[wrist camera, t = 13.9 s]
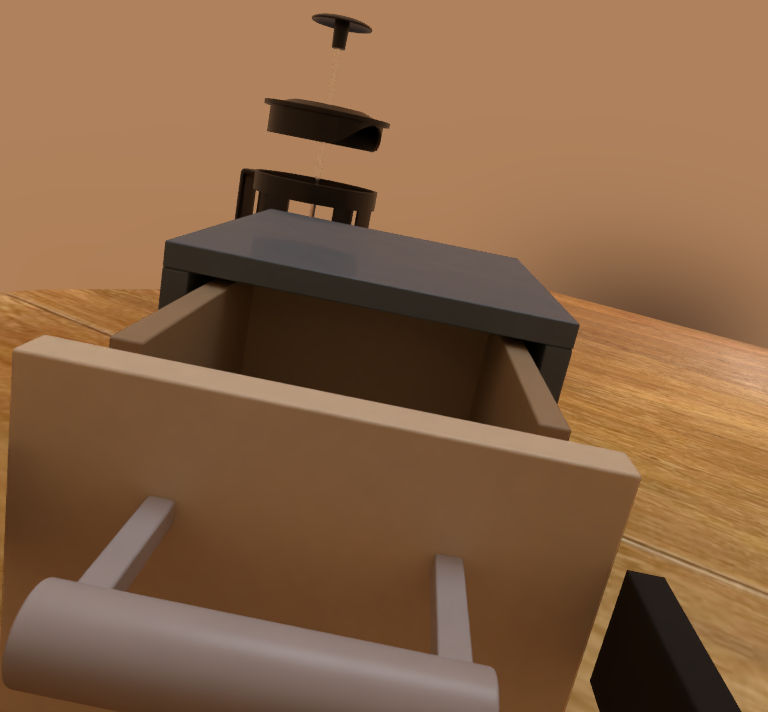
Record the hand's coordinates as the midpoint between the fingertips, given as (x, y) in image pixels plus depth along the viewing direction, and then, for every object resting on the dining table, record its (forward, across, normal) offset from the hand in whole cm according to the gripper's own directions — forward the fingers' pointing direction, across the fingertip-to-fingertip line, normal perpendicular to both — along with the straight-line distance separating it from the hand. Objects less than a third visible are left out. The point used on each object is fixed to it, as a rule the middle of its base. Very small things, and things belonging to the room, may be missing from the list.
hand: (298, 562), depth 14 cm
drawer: (+5, 0, -6) cm, 8 cm away
